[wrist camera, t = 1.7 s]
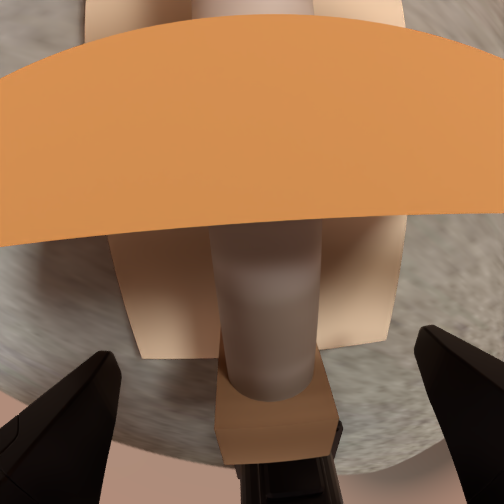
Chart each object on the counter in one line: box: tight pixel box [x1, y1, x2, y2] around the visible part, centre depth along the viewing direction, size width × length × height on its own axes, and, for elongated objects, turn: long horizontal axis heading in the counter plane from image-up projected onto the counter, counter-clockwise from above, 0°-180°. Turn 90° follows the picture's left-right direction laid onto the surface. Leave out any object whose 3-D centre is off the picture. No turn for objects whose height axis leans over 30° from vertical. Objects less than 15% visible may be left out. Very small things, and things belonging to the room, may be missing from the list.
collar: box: [0, 14, 504, 247], centre depth 5 cm, size 2×12×6 cm, turn 93°
